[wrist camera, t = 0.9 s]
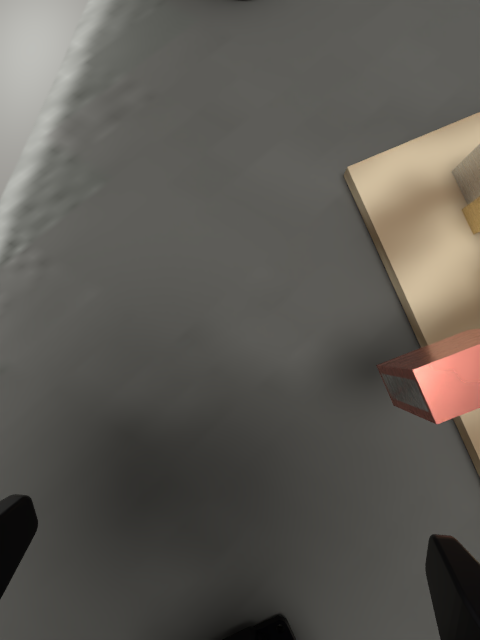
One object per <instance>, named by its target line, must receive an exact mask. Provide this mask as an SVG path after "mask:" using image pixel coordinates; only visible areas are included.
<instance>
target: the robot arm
mask: <svg viewBox="0 0 480 640" xmlns="http://www.w3.org/2000/svg"><path fill="white" fill-rule="evenodd" d="M37 527H38V519H37V516H36V512H35V509H34V506H33V502H32V499H31V498H30V497H29V496H27V495H17V494H15V495H10V496H8V497H7V498H5V499H3V500H1V501H0V599H1V597H2V595H3V593H4V591H5V590H6V588H7V586H8V584H9V582H10V580H11V578H12V576H13V575H14V573H15V571H16V569H17V567H18V565H19V563H20V561H21V560H22V558H23V556H24V554H25V552H26V550H27V548H28V546H29V545H30V543H31V541H32V539H33V537H34V535H35V533H36V531H37ZM426 576H427V581H428V586H429V590H430V595H431V599H432V603H433V608H434V612H435V617H436V621H437V626H438V630H439V634H440V639H441V640H480V563H479V562H478V561H477V560H476V559H475V558H474V557H473V556H472V555H471V554H470V553H469V552H468V551H467V550H466V549H465V548H464V547H463V546H462V545H461V544H460V543H459V542H458V540H456V539H455V538H454V537H452V536H447V535H437V534H433V535H431V536H430V538H429V543H428V550H427V557H426ZM279 624H281V625H283V626H284V627H283V628H278V627H277V625H279ZM223 640H296V639H295V636H294V634H293V632H292V630H291V628H290V626H289V624H288V621H287V620H286V618H284V617H283V616H276V617H274V618H272V619H270V620H268V621H266V622H263V623H261V624H259V625H257V626H255V627H249V628H246V629H244V630H242V631H240V632H238V633H236V634H234V635H232V636H229V637H227V638H225V639H223Z"/></svg>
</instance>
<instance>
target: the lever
mask: <svg viewBox="0 0 480 640" xmlns="http://www.w3.org/2000/svg"><path fill="white" fill-rule="evenodd" d="M376 366H377V368H378V370H379V373H380V375H381V377H382V379H383V382H384V384H385V386H386V389H387V391H388V393H389V396H390V398H391V400H392V403H393V405H394V406H396V407H398V408H401V409H403V410H405V411H408V412H410V413H412V414H414V415H417V416H419V417H421V418H424V419H426V420H428V421H430V422H433V423H435V424H439V423H441V422H444V421H447V420H449V419H452V418H455V417H457V416H460V415H463V414H465V413H468V412H471V411H473V410H476V409H479V408H480V329H472V330H466V331H463V332H461V333H458V334H456V335H453V336H450V337H448V338H445V339H443V340H440V341H438V342H435V343H432V344H430V345H427V346H425V347H422V348H419V349H417V350H414V351H412V352H409V353H407V354H404V355H401V356H399V357H396V358H394V359H391V360H389V361H386V362H383V363H381V364H378V365H376Z"/></svg>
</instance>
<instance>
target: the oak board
mask: <svg viewBox="0 0 480 640" xmlns="http://www.w3.org/2000/svg"><path fill="white" fill-rule="evenodd" d="M479 144H480V112H479V113H476V114H474V115H472V116H469V117H467V118H464V119H462V120H460V121H457V122H455V123H452V124H450V125H448V126H445V127H443V128H440V129H438V130H436V131H433V132H431V133H428V134H426V135H424V136H421V137H419V138H416V139H414V140H412V141H409V142H407V143H404V144H402V145H399V146H397V147H395V148H392V149H390V150H387V151H385V152H383V153H380V154H378V155H375V156H373V157H371V158H368V159H366V160H363V161H361V162H359V163H356V164H354V165H351V166H349V167H347V169H346V171H345V174H344V178H345V180H346V182H347V184H348V187H349V189H350V191H351V193H352V195H353V198H354V200H355V202H356V204H357V206H358V209H359V211H360V213H361V215H362V218H363V220H364V222H365V224H366V226H367V229H368V231H369V233H370V235H371V238H372V240H373V242H374V244H375V246H376V249H377V251H378V253H379V255H380V258H381V260H382V262H383V264H384V266H385V269H386V271H387V273H388V275H389V278H390V280H391V282H392V284H393V286H394V289H395V291H396V293H397V295H398V297H399V300H400V302H401V304H402V306H403V309H404V311H405V313H406V315H407V317H408V320H409V322H410V324H411V326H412V329H413V331H414V333H415V335H416V337H417V340H418V342H419V344H420V346H421V348H422V347H425V346H427V345H430V344H432V343H435V342H438V341H440V340H443V339H445V338H448V337H450V336H453V335H456V334H458V333H461V332H463V331H466V330H472V329H480V232H479V233H477V234H474V235H473V233H472V231H471V229H470V227H469V225H468V223H467V220H466V218H465V216H464V214H463V212H462V209H463V208H464V207H466V206H467V205H468V204H467V202H466V200H465V198H464V196H463V194H462V192H461V190H460V188H459V186H458V184H457V182H456V180H455V178H454V176H453V174H452V171H453V170H454V169H455V168H456V167H457V166H458V165H459V164H460V163H461V162H462V161H463V160H464V159H465V158H466V157H467V156H468V155H469V154H470V153H471V152H472V151H473V150H474V149H475V148H476V147H477V146H478V145H479ZM453 420H454V422H455V424H456V426H457V428H458V431H459V433H460V435H461V437H462V439H463V442H464V444H465V446H466V448H467V451H468V453H469V455H470V457H471V459H472V462H473V464H474V466H475V468H476V471H477V473H478V475H479V477H480V408H479V409H476V410H473V411H471V412H468V413H465V414H463V415H460V416H457V417H455V418H453Z"/></svg>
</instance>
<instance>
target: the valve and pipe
mask: <svg viewBox="0 0 480 640" xmlns="http://www.w3.org/2000/svg"><path fill="white" fill-rule="evenodd" d="M452 174H453V176H454V178H455V180H456V182H457V184H458V186H459V188H460V190H461V192H462V194H463V196H464V198H465V200H466V202H467V204H468V205H467V206H466V207H464V208H463V209H462V212H463V214H464V216H465V218H466V220H467V223H468V225H469V227H470V229H471V231H472V233H473V235H474V234H477V233H479V232H480V144H479V145H478V146H477V147H476V148H475V149H474V150H473V151H472V152H471V153H470V154H469V155H468V156H467V157H466V158H465V159H464V160H463V161H462V162H461V163H460V164H459V165H458V166H457V167H456V168H455V169H454V170H453V171H452Z"/></svg>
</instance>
